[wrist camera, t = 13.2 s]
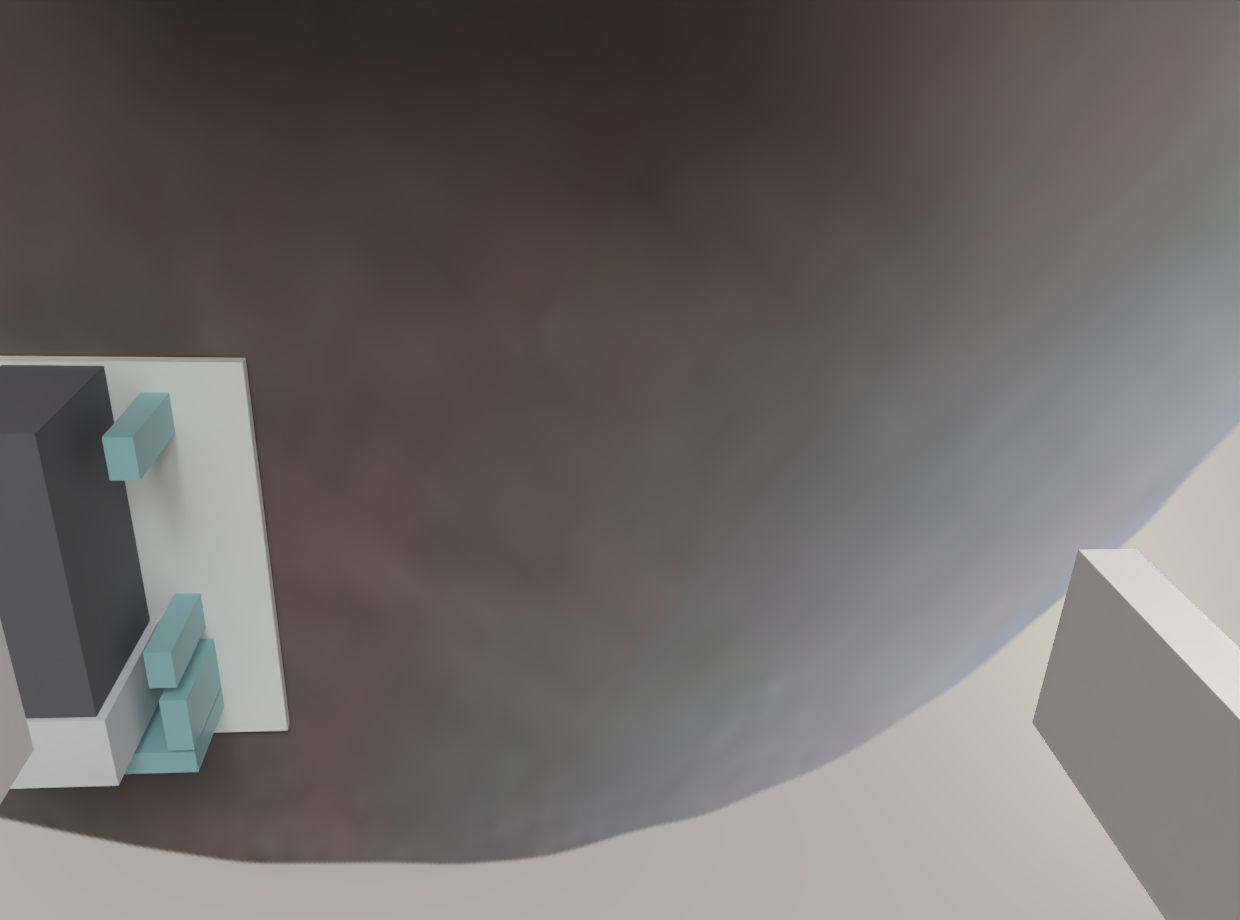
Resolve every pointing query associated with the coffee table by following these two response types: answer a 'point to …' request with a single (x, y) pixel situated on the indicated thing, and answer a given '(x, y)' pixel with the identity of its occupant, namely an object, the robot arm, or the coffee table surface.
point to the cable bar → (70, 580)
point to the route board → (195, 549)
